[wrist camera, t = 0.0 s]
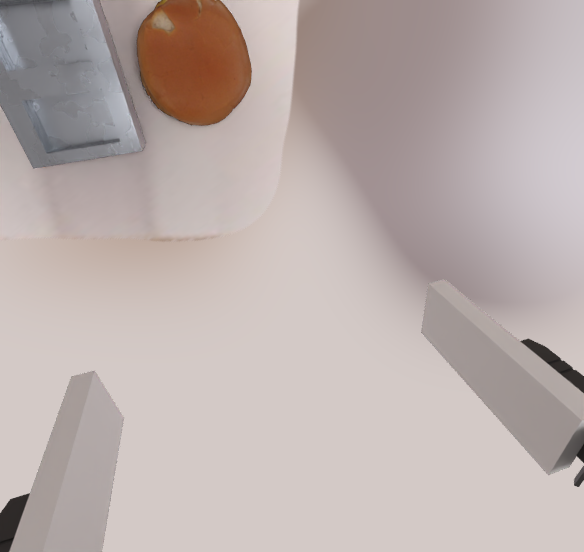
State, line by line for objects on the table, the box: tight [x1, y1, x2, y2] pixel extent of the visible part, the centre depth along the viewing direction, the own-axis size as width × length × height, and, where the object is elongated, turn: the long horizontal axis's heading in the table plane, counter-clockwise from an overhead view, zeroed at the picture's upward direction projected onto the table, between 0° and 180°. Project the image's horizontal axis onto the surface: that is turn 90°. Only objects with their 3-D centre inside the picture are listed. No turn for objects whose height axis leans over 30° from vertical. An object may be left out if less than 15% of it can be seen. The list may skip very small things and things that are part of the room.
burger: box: [137, 0, 252, 126], centre depth 29 cm, size 10×9×5 cm
